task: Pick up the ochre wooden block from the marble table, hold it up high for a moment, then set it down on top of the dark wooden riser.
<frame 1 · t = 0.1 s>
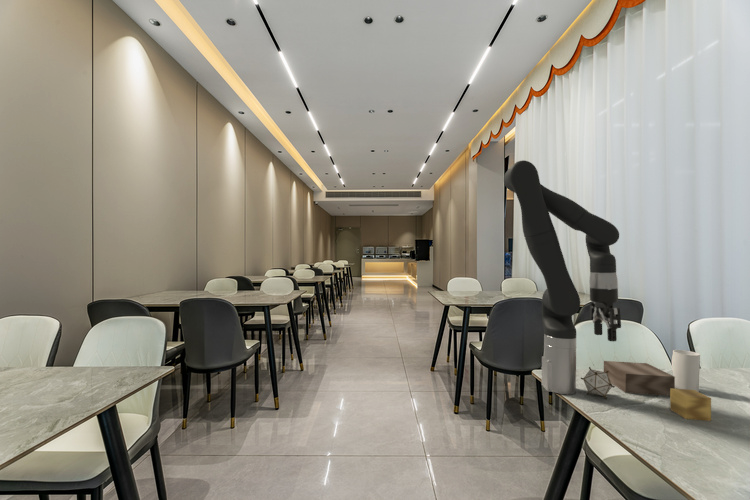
hand: (605, 337, 112), 17 cm above the table, tool pointing down, fingers open, 8 cm apart
ochre block: (689, 415, 97), on the table
mug: (682, 388, 117), on the table
game die: (597, 396, 109), on the table
riser: (636, 386, 118), on the table
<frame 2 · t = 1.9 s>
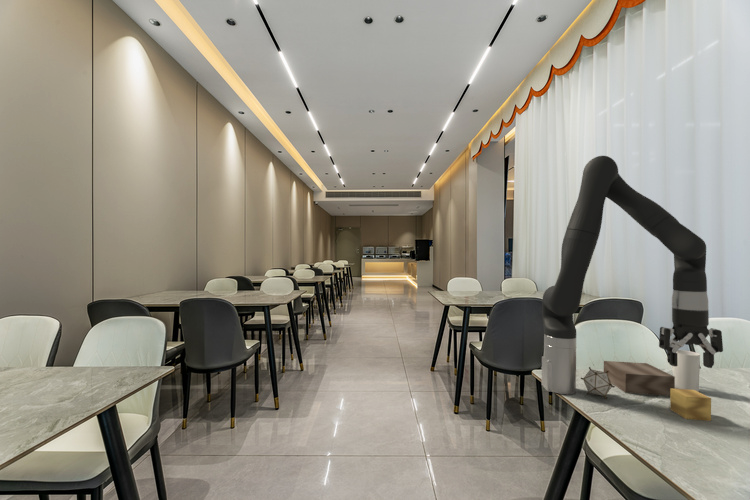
hand: (690, 366, 97), 13 cm above the table, tool pointing down, fingers open, 8 cm apart
nothing on the table moved.
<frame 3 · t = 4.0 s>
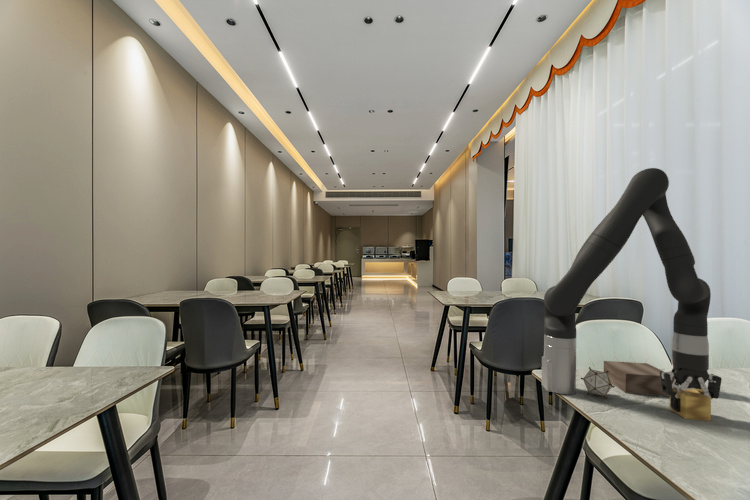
hand: (689, 411, 97), 1 cm above the table, tool pointing down, fingers closed on ochre block, 6 cm apart
ochre block: (689, 414, 97), on the table, touching gripper
everything else where it was.
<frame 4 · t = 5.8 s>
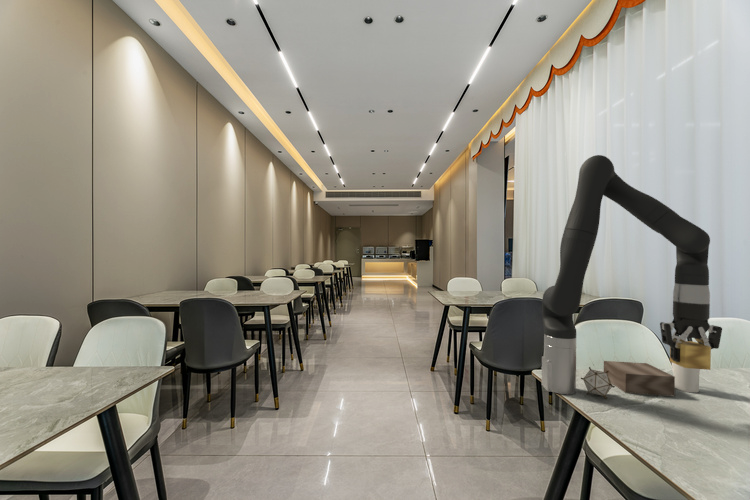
hand: (689, 362, 97), 14 cm above the table, tool pointing down, fingers closed on ochre block, 6 cm apart
ochre block: (689, 365, 97), point 13 cm above the table, touching gripper
everything else where it was.
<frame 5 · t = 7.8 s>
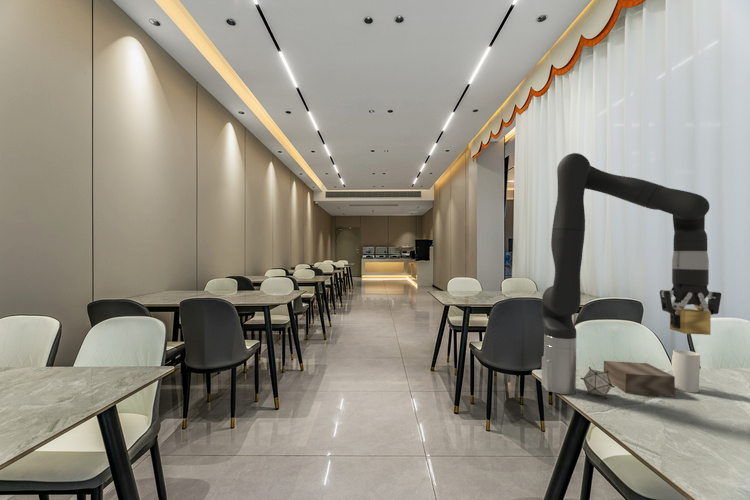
hand: (689, 328, 97), 24 cm above the table, tool pointing down, fingers closed on ochre block, 6 cm apart
ochre block: (689, 331, 97), point 23 cm above the table, touching gripper
everything else where it was.
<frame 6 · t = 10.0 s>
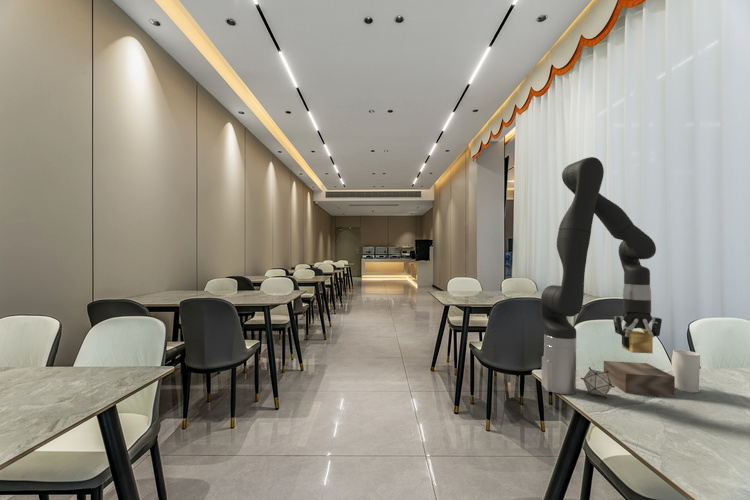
hand: (637, 347, 118), 13 cm above the table, tool pointing down, fingers closed on ochre block, 6 cm apart
ochre block: (636, 350, 118), point 12 cm above the table, touching gripper
everything else where it was.
when the fingers open (8 cm above the table, at t = 11.8 s): ochre block drops 1 cm, resting on riser.
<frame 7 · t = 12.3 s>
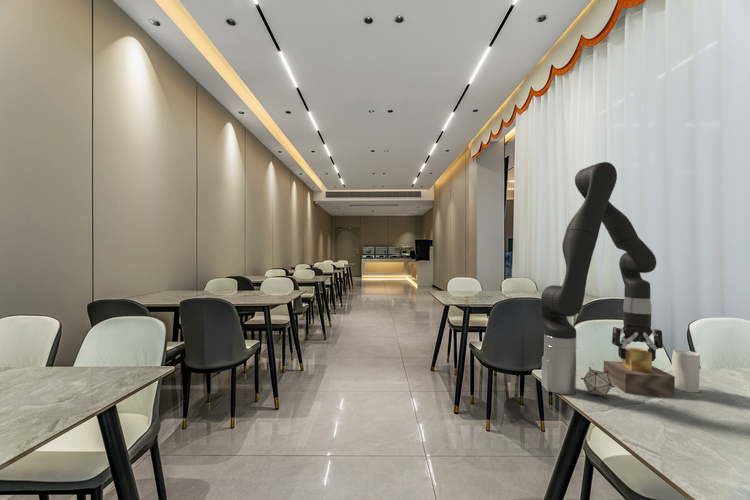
hand: (636, 359, 118), 9 cm above the table, tool pointing down, fingers open, 8 cm apart
ochre block: (636, 368, 118), point 6 cm above the table, touching riser
everything else where it was.
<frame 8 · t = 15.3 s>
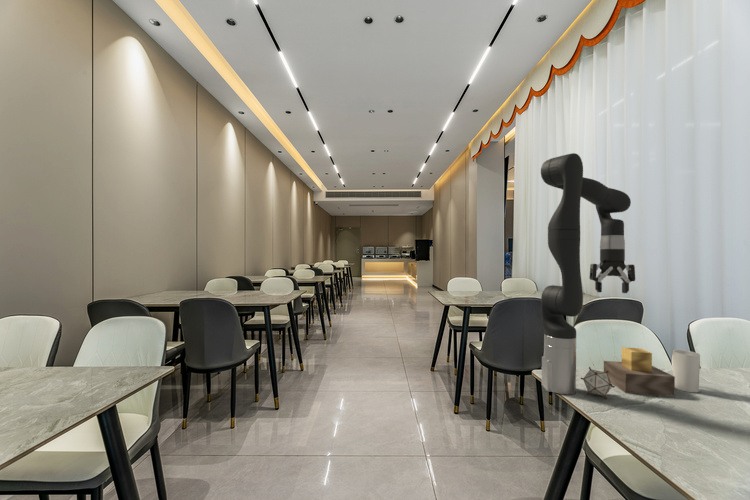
hand: (611, 292, 128), 30 cm above the table, tool pointing down, fingers open, 8 cm apart
nothing on the table moved.
at the end: ochre block inside the target area on the riser (0.2 cm from its centre), point 6.0 cm above the riser's base; ochre block tilted 0°; the gripper is holding nothing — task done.
